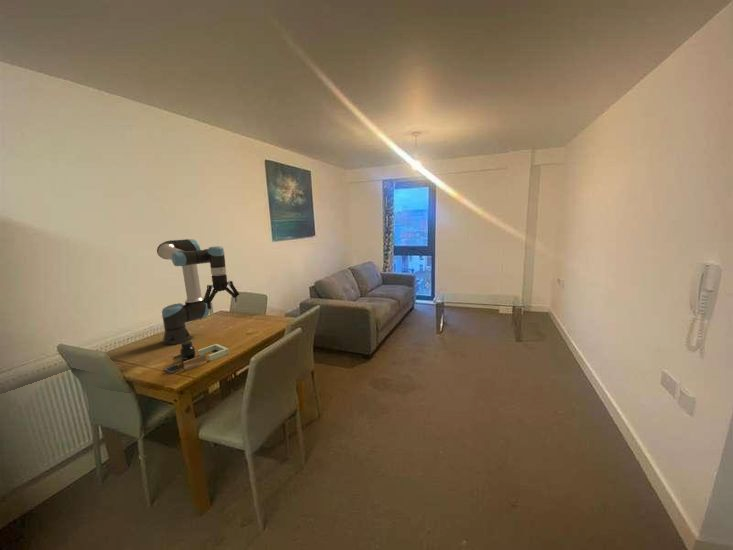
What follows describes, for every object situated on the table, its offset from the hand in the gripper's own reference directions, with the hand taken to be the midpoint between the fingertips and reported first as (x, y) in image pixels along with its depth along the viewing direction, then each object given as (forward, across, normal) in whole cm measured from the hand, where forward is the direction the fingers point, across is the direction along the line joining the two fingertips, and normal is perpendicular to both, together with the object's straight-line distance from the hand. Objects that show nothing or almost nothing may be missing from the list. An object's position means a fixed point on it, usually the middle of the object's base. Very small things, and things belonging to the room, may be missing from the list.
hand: (223, 311), depth 173 cm
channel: (+25, -18, +6) cm, 32 cm away
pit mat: (+25, -27, +6) cm, 38 cm away
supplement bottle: (+26, -19, +6) cm, 32 cm away
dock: (+25, -6, +6) cm, 27 cm away
